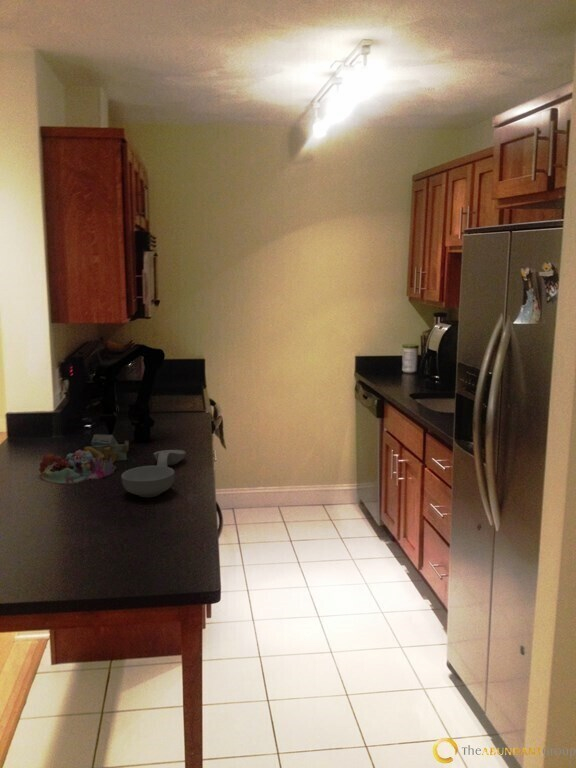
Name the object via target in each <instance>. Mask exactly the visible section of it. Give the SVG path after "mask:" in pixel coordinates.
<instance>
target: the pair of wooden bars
mask: <svg viewBox="0 0 576 768" xmlns="http://www.w3.org/2000/svg"><path fill="white" fill-rule="evenodd" d="M90 447H92V448H94V449H96V450H97V451H100V452H101V453H102V454H103V455H104V452H103V451H104V448H106V447H110V448H111V450H110V453H114V452H117V454H116V459H115V462H120V461H127V460H128V457H127V456H128V455H127V453H129V450H130V449H129V448H130V442H129V440H124V444H118V445H103V446H92V445H90Z"/></svg>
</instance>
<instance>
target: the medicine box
mask: <svg viewBox="0 0 576 768" xmlns="http://www.w3.org/2000/svg"><path fill="white" fill-rule="evenodd" d="M90 444H91V445H90V446H103V445H119V443H118V442H117V440H116V438H115V437H114V435H113V434H101V433H100V434H99V433H97V434H95V433H94V434H93V436H92V439H91V442H90Z"/></svg>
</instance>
